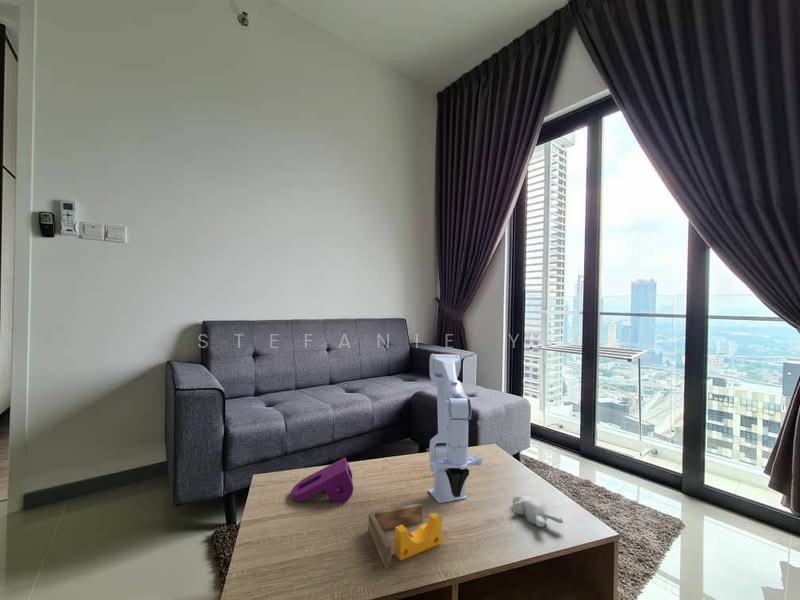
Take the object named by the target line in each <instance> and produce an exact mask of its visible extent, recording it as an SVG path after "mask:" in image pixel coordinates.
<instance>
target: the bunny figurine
mask: <svg viewBox="0 0 800 600" xmlns="http://www.w3.org/2000/svg"><path fill="white" fill-rule="evenodd" d="M512 512H513V513H514V514H517V515H521V516H524V517H525V519H526V521H527V522H528V523H531V524H533V525H536V526H537V527H544V526H545V525H546V523H547V520H551V521H553V522H556V523H558V524H564V521H563V518H562V516H560V515H556V514H553V513H551V512H549V511H548V508H547V504H546V503H545V502H543V500H541V499H536V498H531V495H529V494H528V495H521V496H514V497H512Z"/></svg>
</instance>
